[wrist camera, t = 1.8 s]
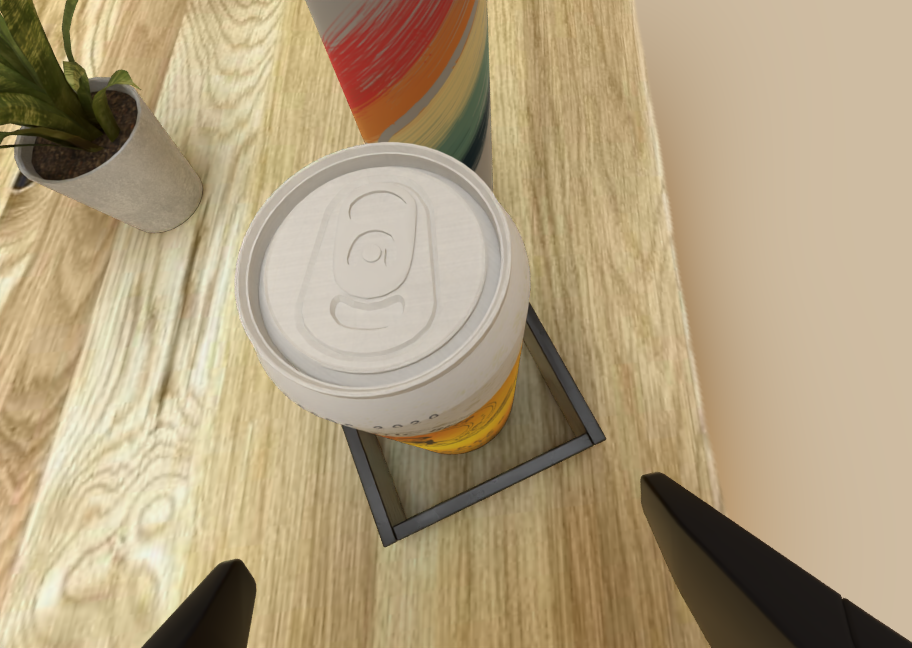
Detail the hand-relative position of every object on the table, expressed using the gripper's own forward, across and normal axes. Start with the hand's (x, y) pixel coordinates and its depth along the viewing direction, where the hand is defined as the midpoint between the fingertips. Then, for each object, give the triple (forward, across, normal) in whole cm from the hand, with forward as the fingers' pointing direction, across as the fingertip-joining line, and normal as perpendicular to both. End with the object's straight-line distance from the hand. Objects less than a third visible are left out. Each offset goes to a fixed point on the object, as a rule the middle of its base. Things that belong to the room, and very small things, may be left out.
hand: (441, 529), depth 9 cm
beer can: (+12, 0, +5) cm, 13 cm away
